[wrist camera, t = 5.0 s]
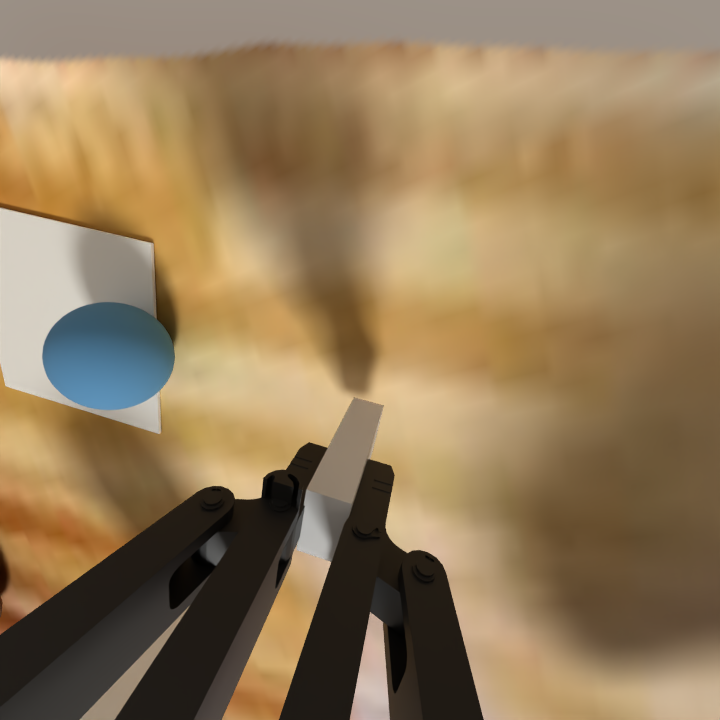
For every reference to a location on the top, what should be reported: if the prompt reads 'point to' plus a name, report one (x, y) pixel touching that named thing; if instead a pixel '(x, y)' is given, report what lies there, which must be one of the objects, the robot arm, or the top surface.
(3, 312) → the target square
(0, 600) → the ceramic pitcher
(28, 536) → the top surface
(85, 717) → the foam cup
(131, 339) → the ball
